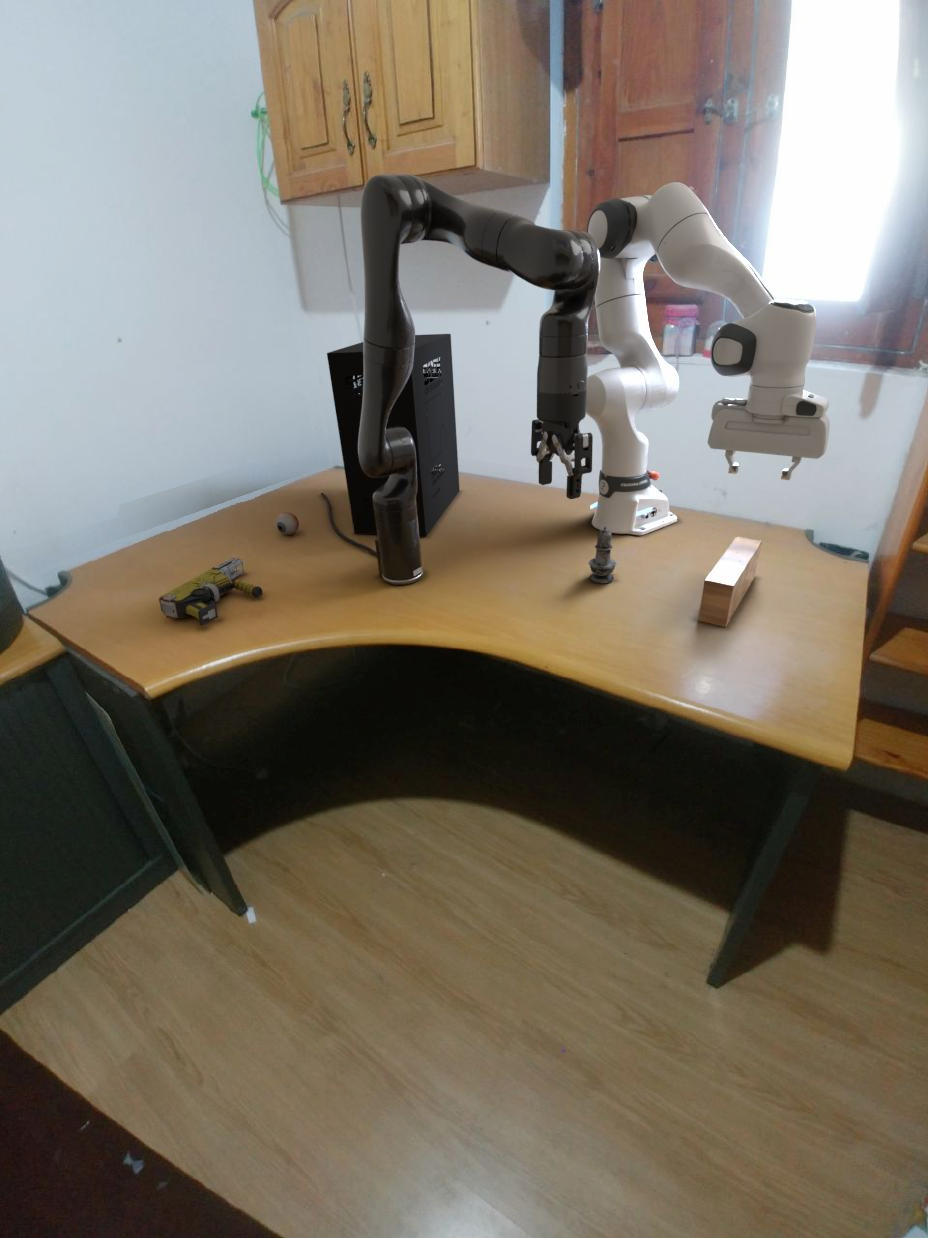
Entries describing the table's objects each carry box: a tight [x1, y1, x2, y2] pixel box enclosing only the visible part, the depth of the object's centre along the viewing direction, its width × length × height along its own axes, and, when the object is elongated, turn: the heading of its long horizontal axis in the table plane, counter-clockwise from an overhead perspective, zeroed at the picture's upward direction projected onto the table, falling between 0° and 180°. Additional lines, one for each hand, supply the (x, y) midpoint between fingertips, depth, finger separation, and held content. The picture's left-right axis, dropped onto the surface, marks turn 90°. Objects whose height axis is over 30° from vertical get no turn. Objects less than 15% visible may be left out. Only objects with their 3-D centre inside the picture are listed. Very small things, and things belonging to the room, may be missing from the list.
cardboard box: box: [326, 333, 460, 538], centre depth 165 cm, size 38×20×45 cm, turn 167°
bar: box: [697, 536, 763, 628], centre depth 120 cm, size 23×5×9 cm, turn 146°
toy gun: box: [158, 557, 263, 626], centre depth 132 cm, size 5×24×15 cm
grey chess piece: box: [588, 527, 617, 584], centre depth 129 cm, size 6×6×12 cm
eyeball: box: [275, 511, 300, 536], centre depth 163 cm, size 6×6×6 cm
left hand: (558, 490), depth 99 cm, fingers open, 8 cm apart
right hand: (758, 475), depth 116 cm, fingers open, 8 cm apart
